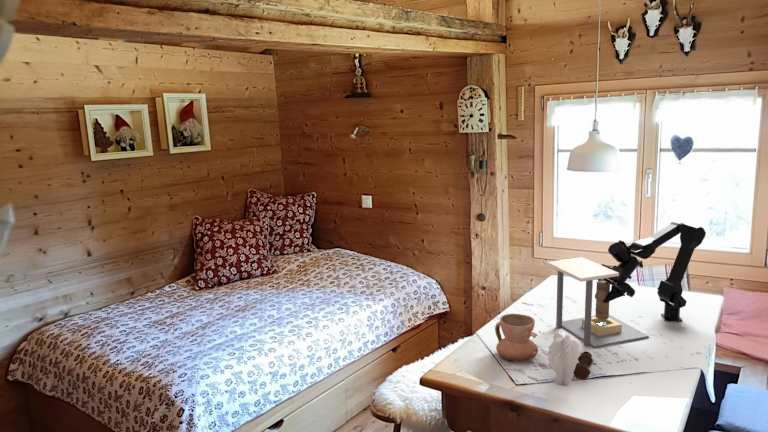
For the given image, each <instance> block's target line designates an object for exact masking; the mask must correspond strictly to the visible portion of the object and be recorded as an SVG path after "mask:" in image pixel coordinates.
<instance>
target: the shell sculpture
mask: <svg viewBox="0 0 768 432" xmlns="http://www.w3.org/2000/svg"><path fill="white" fill-rule="evenodd" d="M552 339H553V340H552V342H551V344H550V345H549V346H548V351H547V355H548V357H547V361H548V363H549V365H550V366H551V368H552V369H553V371H554V373H555V376H554V381H555V383H557V384H560V385H564V386H568V385H570V384H571V382H572V381H573V376H574V374H573V373H574V370H575V367H576V364H577V363H578V362H579V361H578V358H579V356H580V355H579V353H580V346H579V343H578V342H577V341H576V340H575V339H571V336H570V334H565V335H564V336H563V334H562V332H559V331H558V330H555V332H554V333H553V336H552Z"/></svg>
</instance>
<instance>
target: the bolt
mask: <svg viewBox="0 0 768 432" xmlns="http://www.w3.org/2000/svg"><path fill="white" fill-rule="evenodd" d="M593 362H594V359H593V356H592V354H591V352H589V351H585V350H584V351H583V352H581V353H580V355H579V357H578V361H577V364H576V367H575V370H574V373H573V376H574V377H575V379H577V380H582V381H583V380H585V381H586V380H587V379H588V377H590V375H591V373H592V371H591V370H590V366H591V365H592V364H593Z"/></svg>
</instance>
